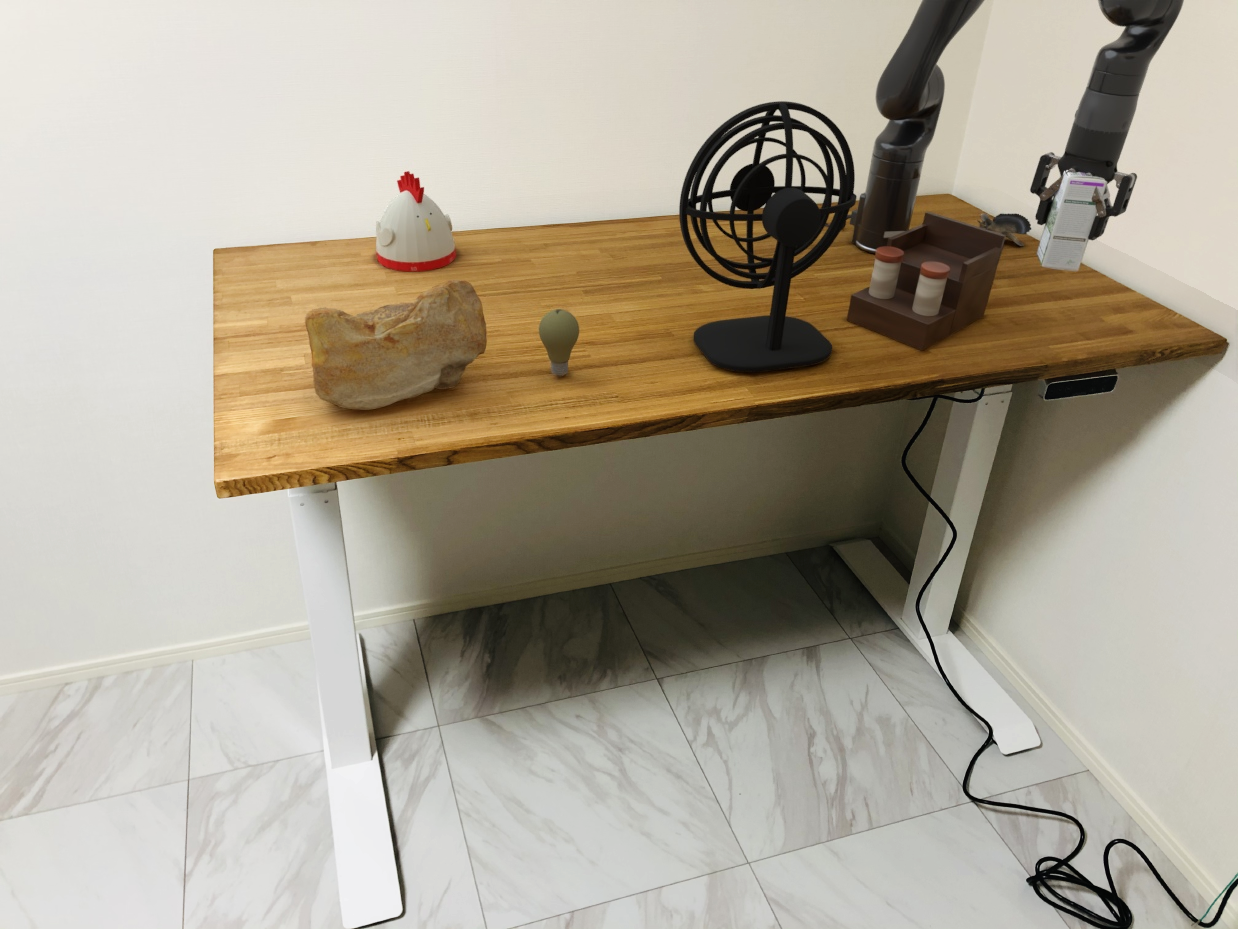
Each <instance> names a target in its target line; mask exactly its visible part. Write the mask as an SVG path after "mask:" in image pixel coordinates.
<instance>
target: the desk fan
mask: <svg viewBox="0 0 1238 929" xmlns="http://www.w3.org/2000/svg"><path fill="white" fill-rule="evenodd" d="M777 111H779V113H780V115H779V114H775V113H776V112H777ZM790 111H798V112H801V113H805V114H808V115H811V116H813V117H815V118H816V119H818V120H819V121H820V122H822V123H823V124H824V125H825V126H826V127H827V128H828V129H829V130H830V132H831V133H832V134H833V135H834V137H835V139H836V141H837V143H838V145H839V147H840V150H841V153H842V156H841V154H840V152H839V150H838V149H837V148H836V146H835V144H834V143H833V142H832V141H831V140H830V139H829V138H828V137H827V136H826V135H824V134H823V133H821V132H819V130H817V129H815V128H813V127H810V126H809V125H807V124H806V123H804V122H802V121H800V120H799V119H796V118H794V117H791V114H790ZM763 113H765V114H764V115H761V116H757V115H760V114H763ZM754 116H757V117H754ZM753 117H754V118H753ZM750 118H751V119H750ZM747 119H748V120H747ZM745 120H746V121H745ZM760 124H761V125H760ZM758 125H760V127H758V128H755V129H753V130H751V131H749V132H748V133H746V134H744V135H743V136H742V137H740V138H739V139H737V140H736V141H734V143H733V144H731V145H730V146H729V147H728V148H727V149H726V150H725V151H724V153H722V155H721V156H720V157H719V159H717V161H716V163H715V165H714V166H713V167H712V169H711V171H710V173H709V175H708V177H707V179H706V181H705V184H704V187H703V190H702V192H701V193H702V194H698V193H699V188H700V184H701V182H702V179H703V176H704V174H705V172H706V170H707V168H708V166H709V164H710V163H711V161H712V160H713V159H714V157H715V156H716V154H717V153H718V152H719V151H720V149H721V148H722V147H723V146H724V145H725V144H726V143H727V142H729V141H730V140H731V139H732V138H734V137H735V136H736V135H738V134H740V133H741V132H743V131H745V130H747V129H749V128H751V127H755V126H758ZM779 130H784V139H785V142H784V141H783V140H780V139H778V138H774V137H767V133H770V132H774V131H779ZM793 130H796V131H797V130H798V131H802V132H805V133H808V134H809V135H810V136H811V137H812V138H813V139H814V141H815V142H816V143H817V145H818V148H819V149H820V151H821V153H822V156H823V159H824V162H825V168H826V169H825V170H826V171H825V170H824V169H823V168H822V166H821V165H820V164H818V162H816V161H815V160H813V159H811V158H810V157H808V156H806V155H803V154H800V153H799V154H798V152H797V151H796V150H795V149H794V132H793ZM764 143H774V144H779V145H781V146H783V147H785V153H781V154H777V155H773V156H771V157H769V158H766V159H764V160H763V161H761V156H762V152H763V148H764ZM753 144H756V145H755V149H754V153H753V160H752V163H748V164H746V165H744V166H743V167H742V168H740V169H739V170H738V171H737V172H736V173H735V175H733V178H732V179H731V183H730V186H729V189H724V190H718V191H714V188H715V183H716V181H717V178H718V176H719V174H720V172H721V170H722V169H723V167H724V166H725V165H726V163H727V162H728V161H729V160H730V159H731V157H733V156H734V155H735V154H737V153H738V152H739V151H740V150H742V149H744V148H746V147H749V146H750V145H753ZM831 155H832V156H831ZM832 157H833V159H834V161H835V165H836V168H837V172H838V176H839V177H838V178H839V179H838V180H839V188H835V187H834V186H835V185H834V184H835V172H834V170H835V169H834V164H833V159H832ZM842 157H843V158H842ZM794 159H795V160H796V163H797V165H798V168H799V173H800V185H793V177H794V176H793V173H794ZM781 160H785V176H784V177H785V178H784V185H776V183H775V182H776V181H775V176H774V174H773V172H772V170H771V168H770V167H769V166H768V165H771V163H774V162H777V161H781ZM843 160H844V161H843ZM803 161H806V162H807V163H810V164H811V165H812V166H814V167H815V168H816V169H817V171H818V172H819V174H820V175H821V177H822V179H823V182H824V184H825V187H824V186H811V185H810V186H809V185H807V186H806V184H807V183H806V180H807V179H806V171H805V170H806V169H805V167H804V162H803ZM855 175H856V174H855V163H854V158H853V155H852V151H851V147H850V145H849V143H848V141H847V138H846V136H845V135H844V133H843V132H842V131H841V129H840V128H839V127H838V126H837V124H836V123H835V122H834V121H832V120H831V118H829V117H828V116H827V115H826V114H824V113H822V112H821V111H819V110H817V109H815V108H813V107H811V106H809V105H806V104H803V103H800V102H794V101H786V100H785V101H782V100H781V101H780V100H779V101H770V102H765V103H760V104H756V105H754V106H751V107H748V108H746V109H744V110H741V111H740V112H738V113H736V114H735V115H733V116H731V117H729V118H728V119H727V120H726V121H725V122H723V123H722V124H721V125H719V126H718V127H717V128H716V129H715V130H714V131H713V132H712V133H711V134H710V135H709V136H708V137H707V138H706V140H705V141H704V143H703V144H702V145H701V146H700V148H699V149H698V151H697V152H696V153H695V155H694V157H693V159H692V161H691V163H690V165H689V167H688V169H687V172H686V175H685V177H684V179H683V183H682V187H681V192H680V198H679V206H678V207H679V208H678V209H679V211H678V216H679V224H680V225H679V226H680V231H681V236H682V239H683V242H684V244H685V247H686V249H687V250H688V253H689V255H690V256H691V258H692V259H693V260H694V261H695V263H696V264H697V265H698V266H699V267H700V268H701V269H702V270H703V271H704V272H705V273H706V274H707V275H708V276H710V277H711V278H713V279H714V280H716V281H717V282H720V283H721V284H723V285H726V286H730V287H733V288H737V289H744V290H745V289H746V290H760V289H766V288H770V287H773V290H772V298H771V304H770V313H769V315H757V316H749V317H739V318H731V319H722V320H721V319H720V320H715V321H711V322H707V323H705V324H703V325H700V326H699V327H697V328H696V329H695V331H694V332H693V343H694V344H695V346H696V347H697V348H698V349H699V350H700V352H701V353H702V354H703V355H704V358H706V359H707V361H708V362H710V364H712V365H714V366H715V367H717V368H720V369H724V370H727V371H731V372H736V373H737V372H739V373H763V372H771V371H780V370H786V369H795V368H802V367H808V366H815V365H817V364H820V363H823V362H825V361H827V360H829V358H830V357H831V355H832V352H833V345H832V342H831V341H830V340H829V339H828V338H827V337H826V336H824V334H822V332H820V331H819V330H818V329H817V328H816V327H815V326H814V325H812V324H811V323H810V322H808V321H806V320H804V319H801V318H798V317H793V316H788V315H787V310H788V302H789V295H790V289H791V283H792V282H791V281H792V279H794V278H796V277H797V276H799V275H800V274H802V273H804V272H805V271H806V270H808V269H809V268H810V267H812V266H813V265H814V264H815V263H816V262H817V261H818V260H820V259H821V257H823V255H824V254H825V253H826V252H827V251H828V250H829V248H830V247H831V246H832V244H833V243H834V241H835V240H836V238H837V237H838V236H839V234H840V232H841V231H842V229H841V228H842V227H843V225H844V222H845V220H846V218H847V215H849V212H850V209H851V208H853V207H854V206H855V205H856V202H857V195H856V194H855V193H854V191H855ZM775 185H776V186H775ZM808 194H815V195H816V194H817V195H824V197H823V202H822V205H821V207H819V205H818V204H817V203H816V202H815V200H813V199H812V197H810V196H809V195H808ZM833 196H834V197H838V200H837V203H836V204H835V205H832V203H833ZM723 198H730V200H731V203H730V207H729V212H728V213H727V212H715V211H714V207H713V200H716V199H723ZM697 204H699V209H697ZM762 207H763V210H762V212H761V213H755V211H757V210H759V209H761V208H762ZM736 209H738V210H739V211H742V212H746V213H736ZM831 214H833V217H832V219H831V221H830V223H829V224H828V225H829V227H827V229H826V231H825V232H824V234H823V235H822V236H821V238H820V239H819V240H818V242H817V243H816V244H815V245H814V246H813V247H812V248H811V249H810V250H809V251H808V252H807V253H806V254H804V255H803V256H802V257H800V258H799V259H798V260H796V261H795V262H794V260H795V257H797V256H799V255H800V254H802V253H803V252H804V251H806V250H807V249H808V248H809V247H810V246H812V244H813V243H814V242H816V240H817V239H818V237H819V236H820V235H821V234H822V231H823V230H824V228H825V227H826V226H825V224H827V222H828V219H829V216H830V215H831ZM688 216H689V218H690V222H691V226H692V230H693V232H694V235H695V236H696V239H697V240H698V242H699V243H700V246H702V248H703V249H704V250H705V251H706V252H707V253H708V254H709V255H710V256H711V257H712V258H713V259H714V260H715V261H716V262H717V263H718V264H719V265H720V266H721V267H723V268H724V270H726V271H728V272H729V273H731V274H732V275H735V276H738V277H740V278H744V279H748V280H741V279H740V280H739V279H734V278H730V277H727V276H725V275H722V274H720V273H718V272H717V271H715V270H714V269H712V268H711V267H709V266H708V265H707V264H706V263H705V261H704V260H703V259H702V257H700V255H699V254H698V251H697V249H696V248H695V245H694V243H693V240H692V238H691V234H690V230H689V222H688ZM698 219H699V220H698ZM707 220H711V221H712V222H713V224H714V226H715V227H716V228H717V229H718V230H719V231H720V232H721V233H722V234H723V235H725V236H726V237H727V238H729V239H731V240H734V243H735V245H736V246H737V247H738V248H739V250H741V252H743V253H744V254H745V255H746V260H747V262H738V261H733V260H731V259H727V258H725V257H723V256H721V255H719V254H718V253H717V251H716V249H715V248H714V245H713V244H712V241H711V239H710V236H709V231H708V224H707ZM698 221H699V222H698ZM718 221H723V222H724V221H725V222H729V229H730V233H729V232H727V231H726V230H725V229H724V228H723V227H722V226H721V225H720V223H719V222H718ZM846 221H847V220H846ZM735 222H746V237H740V236H738V235H737V232H736V226H735ZM754 222H761V223H762V226H763V229H764V231H765V232H766V233H765V234H762V235H759V236H755V237H754ZM771 237H772V238H773V239H774V240H775V241H776V245H775V249H774V252H773V257H764V256H763V257H762V256H759V255H756V254H755V253H754V243H755V242H756V243H757V242H760V241H764V240H767V239H770V238H771ZM742 243H746V248H745V247H744V246H743V244H742ZM756 261H757V262H756ZM766 268H769V269H768V271H767V272H757V270H760V269H766ZM745 270H746V271H745Z"/></svg>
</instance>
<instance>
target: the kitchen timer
mask: <svg viewBox="0 0 1238 929" xmlns="http://www.w3.org/2000/svg"><path fill="white" fill-rule="evenodd" d="M399 177H400V179H397V180H396V184H397V188H398V191H399V193H398V194H397V195H395V196H394V197H393V198H392V199H391V200H390V202H388V204H387V206H386V207H385V208H384V211H383V213H382V215H381V217H380V220H379V221H376V224H375V232H376V233H375V234H376V241H375V249H376V257H377V258H376V259H377V262H378V263H379V264H380V265H381V266H383V267H385V268H387V269H391V270H395V271H401V272H425V271H432V270H436V269H440V268H443V267H445V266H448V265H450V264H451V263H452V262H454V260H455V259H456V257H457V253H456V252H457V251H456V244H455V239H454V236H453V233H452V231H453V224H452V220H451V216H450V214H448V213H447V214H444V212H443V211H442V209H441V208H440V206H438V204H437V203H436V202H435V201H434V200H433V199H432V198H431V197H429V195H427V194H425V187H424V186H422V187H421V181H420V177H415V174H414V173H411V172H410V170H408V171H404V172H403V175H400V176H399Z"/></svg>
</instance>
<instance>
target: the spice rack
mask: <svg viewBox="0 0 1238 929" xmlns="http://www.w3.org/2000/svg"><path fill="white" fill-rule="evenodd" d="M1006 238H1007V237H1006V235H1003V234H1000V233H997V232H994V231H990V230H987V229H984V228H980V226H977V225H973V224H970V223H967V222H963V221H961V220H958V219H954V218H951V217H947V216H944V215H942V214H938V213H934V212H931V211H925V212H924V215H923V220H922V224H920V225H917V226H915V227H912V228H909V230H907V231H905V232H902V233H900V234H897V235H895V236H892V237H890V238H888V243H887V246H883V247H879V248H877V249H876V254H874V255H875V256H874V264H873V268H872V269H873V270H872V274H871V279H870V283H869V286H867V287H865V288H862V289H861V290H859V291H856V292H854V293H852V294H851V295H850V301H849V305H848V310H847V311H848V312H847V317H846V321H848V322H850V323H853V324H855V325H858V326H859V327H863V328H864V329H867V330H870V331H872V332H874V333H877V334H879V335H882V336H885V337H887V338H889V339H892V340H894V341H897V342H899V343H902V344H905V345H906V346H909V347H912V348H915V349H917V350H919V351H925V350H926V349H928V348H930V347H932V346H933V345H935V344H937V343H939V342H941V341H942V340H944V339H946V338H948V337H950V336H951V335H953V334H955V333H957V332H959V331H960V330H963V329H964V328H967V326H969V325H972V324H973V323H975V322H977V321H979V320H980V319H982V318H984V317H985V313H986V309H987V306H988V303H989V298H990V294H991V292H992V287H993V284H994V280H995V277H996V273H997V270H998V266H999V263H1000V259H1001V256H1002V252H1003V248H1004V245H1005V241H1006Z"/></svg>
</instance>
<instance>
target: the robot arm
mask: <svg viewBox="0 0 1238 929" xmlns="http://www.w3.org/2000/svg"><path fill="white" fill-rule="evenodd" d="M985 1H986V0H921V2H920V4H919V6H918V8H917V10H916V13H915V15H914V17H913V19H912V22H911V24H910V26H909V27H908V29H907V31H906V33H905V34H904V36H903V38H902V39H901V41H900V44H898V47H897V48H896V50H895V51H894V53H893V55H892V57H891V58H890V60H889V61H888V63H887V65H886V66H885V68H884V69H883V71H882V73H881V75H880V77H879V79H878V82H877V84H876V88H875V98H874V99H875V105H876V108H877V110H878V113H879V114H880V115H881V116H882V117H883V118H885V119H887V120H888V122H887V124H886V126H885V127H884V129H883V130H882V131H881V132H880V133H879V134H878V135H877V136H876V138H875V140H874V143H873V148H872V154H871V158H870V164H869V171H868V176H867V181H866V185H865V192H863V193H861V194H860V195H859V199H858V204H857V209H854V210H852V211H851V214H848V215H847V218H846V220H845V222H844V225H843V227H842V228H841V230H843V229H845V228H846V225H847V220H849V225H851V226H853V232H852V237H851V244H854V245H855V246H856V247H857V248H858V249H860V250H862V251H864V252H866V253H871V254H874V255H875V254H876V249H877V248H879V247H883V246H887V243H888V238H890V237H892V236H895V235H897V234H900V233H902V232H905V231H907V230H910V227H911V223H912V218H913V213H914V209H915V204H916V200H917V195H918V190H919V186H920V180H921V178H922V172H923V167H924V163H925V158H926V153H927V150H928V148H929V147H930V145H931V143H932V142H933V139H934V137H935V134H936V130H937V125H938V121H939V118H940V114H941V110H942V106H943V102H944V97H945V92H946V91H945V89H946V82H945V76H944V73H943V71H942V69H941V67H940V66H939V65H938V62H939V61H940V59H941V56H942V54H943V53H944V51H945V50H946V49H947V47H948V45H949V44H950V43H951V41H952V40H953V39H954V38H955V37H956V36H957V34H958V33H959V32H960V31H961V30H962V29H963V28H964V27H965V25H966V24H967V23H968V22H969V21H970V20H971V19H972V18H973V16H974V15H975V14H976V13H977V11H978V10H979V8H980V7H981V6H982V5H983V3H984V2H985ZM1097 2H1098V6H1099V9H1100V11H1101V14H1102V15H1103V16H1104V18H1105V19H1106V20H1107V21H1108V22H1109V23H1110V24H1112V25H1115V26H1116V27H1121V28H1122V27H1123V28H1124V29H1123V31H1122V33H1121V34H1120V35H1119V37H1118V38H1117V39H1115V40H1113V41H1111V42H1109V43H1106V44H1105V45H1103V46H1102V47H1101V48H1100V49H1099V50H1098V52H1097V54H1096V56H1095V59H1094V61H1093V65H1092V68H1091V71H1090V75H1089V78H1088V81H1087V84H1086V87H1085V89H1084V93H1083V94H1082V96H1081V99H1080V101H1079V103H1078V107H1077V109H1076V111H1075V114H1074V120H1073V123H1072V126H1071V130H1070V133H1069V136H1068V138H1067V142H1066V145H1065V149H1064V152H1063V155H1062V156H1059V155H1056V154H1055V153H1054V152H1052V151H1050V152H1047V153H1045V154H1043V155H1041V156H1040V157H1039V160H1038V163H1037V166H1036V170H1035V173H1034V176H1033V178H1032V182H1031V185H1030V188H1029V192H1030V193H1031V194H1032V195H1036V196H1037V197H1038V198H1039V203H1038V206H1037V209H1036V213H1035V216H1034V217H1035V221H1037V222H1036V224H1037V225H1039V226H1044V225H1045V223H1046V220H1047V217H1048V214H1049V210H1050V207H1051V204H1052V200H1053V197H1054V194H1055V193H1056V192H1057V191H1058V190H1059V188H1060V186H1061V183H1062V180H1063V176H1064V175H1063V173H1064V171H1066V170H1068V171H1067V172H1066V173H1068V172H1071V173H1077V172H1082V173H1086V174H1085V175H1088V176H1092V177H1093V176H1098V177H1101V178H1103V179H1105V181H1107V185H1106V188H1105V191H1104V194H1103V197H1102V196H1101V194H1100V192H1099V190H1098V188H1097V186H1096V187H1095V190H1094V193H1093V196H1092V202H1093V203H1095V204H1096V206H1095V207H1096V210H1097V216H1095V219H1094V222H1093V225H1092V228H1091V230H1090V233H1089V236H1088V239H1089V240H1088V241H1092V242H1093V241H1095V240H1097V239H1099V238H1100V237H1102V236H1103V234H1105V230H1106V228H1107V224H1108V222H1109V220H1110V217H1115V218H1116V217H1118V216H1120V215H1122V214H1124V213H1126V211H1127V208H1128V206H1129V203H1130V199H1131V197H1132V194H1133V191H1134V188H1135V184H1136V182H1137V179H1138V175H1137V173H1136V172H1131V173H1125V172H1120V171H1118V163H1119V160H1120V157H1121V155H1122V152H1123V149H1124V146H1125V143H1126V140H1127V137H1128V135H1129V132H1130V128H1131V126H1132V123H1133V120H1134V117H1135V114H1136V110H1137V106H1138V102H1139V97H1140V93H1141V91H1142V88H1143V85H1144V82H1145V80H1146V76H1147V74H1148V70H1149V66H1150V64H1151V62H1152V60H1153V59H1154V57H1155V56H1156V55H1157V52H1158V51H1159V50H1160V48H1161V47H1162V45H1163V43H1164V42H1165V40H1166V38H1167V36H1168V35H1169V33H1170V31H1171V30H1172V28H1173V26H1174V25H1175V23H1176V21H1177V19H1178V17H1179V15H1180V13H1181V11H1182V8H1183V6H1184V2H1185V0H1097ZM1056 166H1057V168H1058V172H1059V177H1060V175H1061V177H1060V178H1058V179H1057V180H1055V181H1054V182H1052V184H1051V185H1050V186H1049V187H1047V182H1048V179H1049V176H1050V173H1051V170H1053V169H1055V167H1056ZM1113 180H1114V181H1115V187H1116V189H1118V190H1117V193H1116V195H1115V199H1114V201H1113V205H1112V202H1111V198H1110V197H1111V193H1110V190H1109V186H1108V185H1109V184H1110V183H1112V181H1113ZM1094 194H1095V195H1094ZM829 225H830V224H828V223H826V224H825V226H824V227H827V228H828V227H829Z"/></svg>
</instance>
